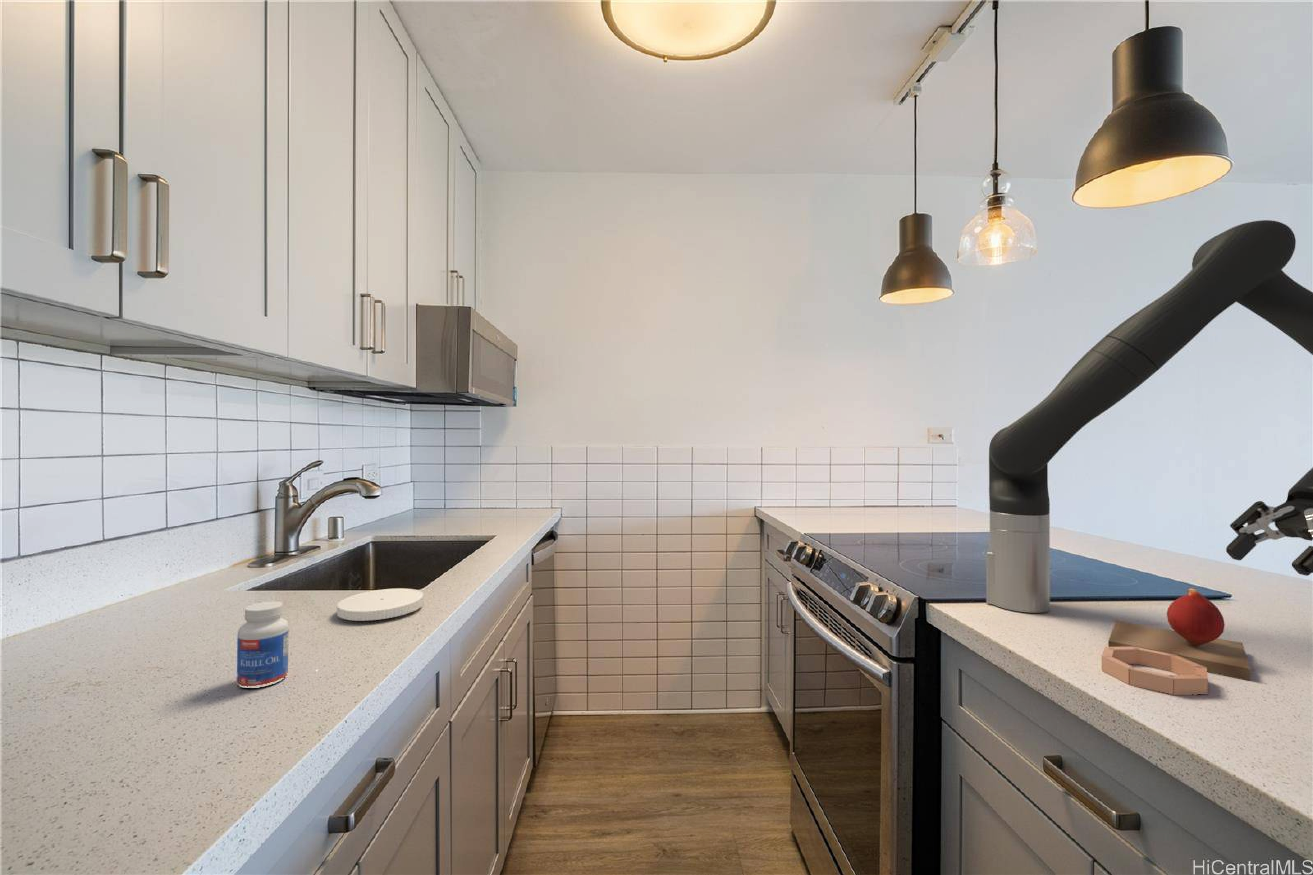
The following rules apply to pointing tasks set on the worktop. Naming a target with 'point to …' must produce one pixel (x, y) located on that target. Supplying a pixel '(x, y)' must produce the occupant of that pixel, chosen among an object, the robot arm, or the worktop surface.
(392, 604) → the plastic lid
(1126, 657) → the ring holder
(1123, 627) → the walnut board
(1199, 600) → the onion
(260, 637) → the pill bottle
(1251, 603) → the worktop surface
